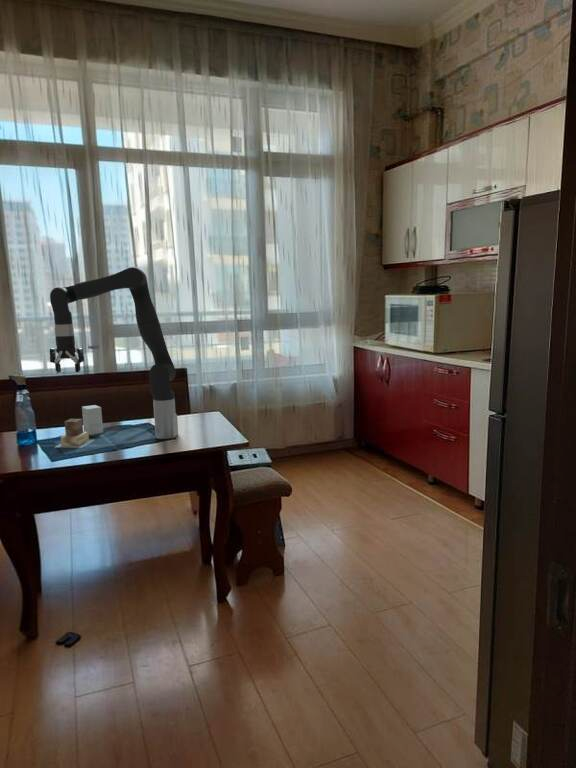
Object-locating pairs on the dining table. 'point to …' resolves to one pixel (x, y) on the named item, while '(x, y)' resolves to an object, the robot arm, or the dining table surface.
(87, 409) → the small box
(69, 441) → the beech block
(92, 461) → the dining table surface
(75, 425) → the walnut block
